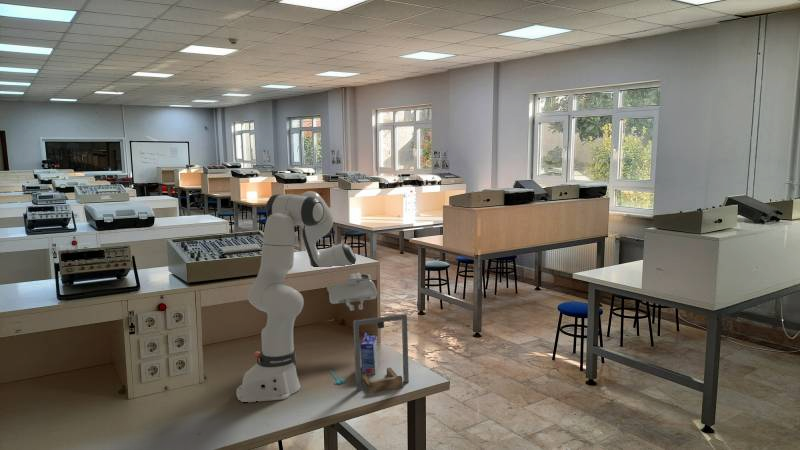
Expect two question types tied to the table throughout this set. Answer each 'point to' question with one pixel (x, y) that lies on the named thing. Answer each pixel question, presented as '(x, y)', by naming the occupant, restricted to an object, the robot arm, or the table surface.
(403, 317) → the scanner arch
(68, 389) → the table surface
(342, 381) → the adjustable wrench
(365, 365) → the ink cartridge box
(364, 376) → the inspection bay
